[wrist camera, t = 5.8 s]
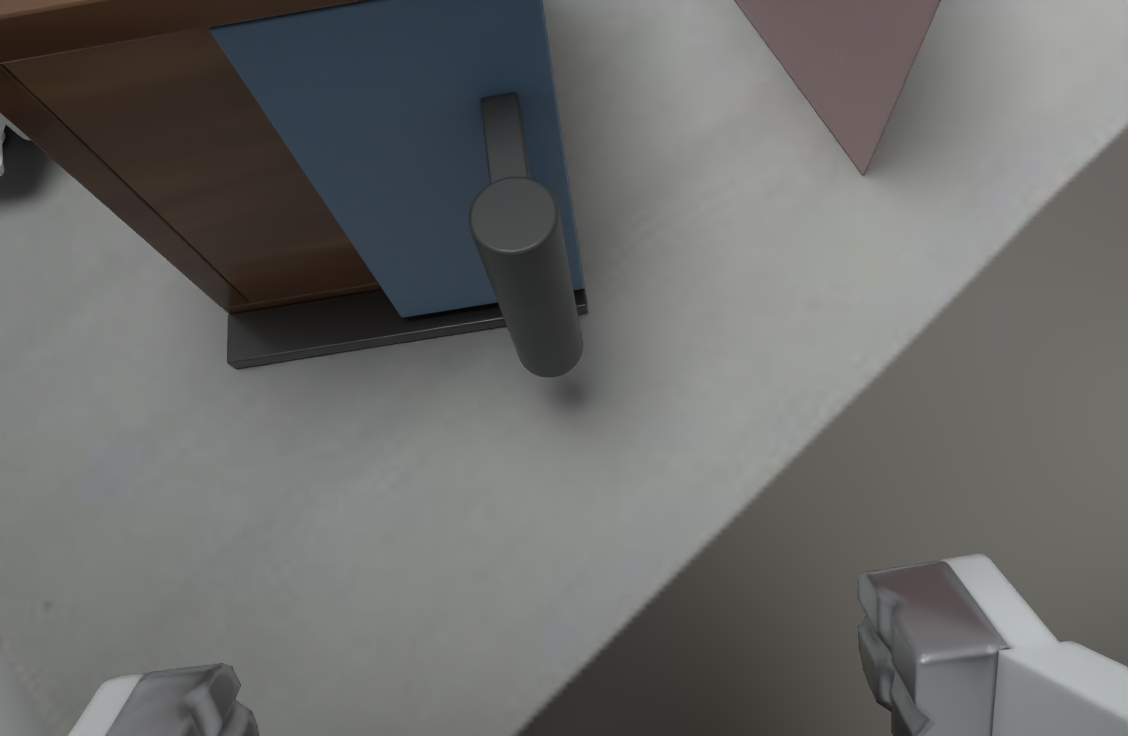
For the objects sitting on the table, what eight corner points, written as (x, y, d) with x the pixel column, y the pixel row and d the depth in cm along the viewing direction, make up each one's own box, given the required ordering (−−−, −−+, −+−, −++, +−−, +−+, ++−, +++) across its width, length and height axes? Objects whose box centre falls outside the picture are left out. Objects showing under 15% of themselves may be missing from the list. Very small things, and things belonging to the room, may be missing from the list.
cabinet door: (602, 403, 25) (567, 156, 13) (408, 433, 25) (201, 216, 13) (580, 261, 27) (531, -68, 15) (399, 291, 27) (209, -12, 15)
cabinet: (588, 313, 27) (530, -79, 13) (234, 369, 27) (-190, 48, 13) (538, -4, 32) (458, -533, 18) (239, 47, 32) (-65, -430, 18)
